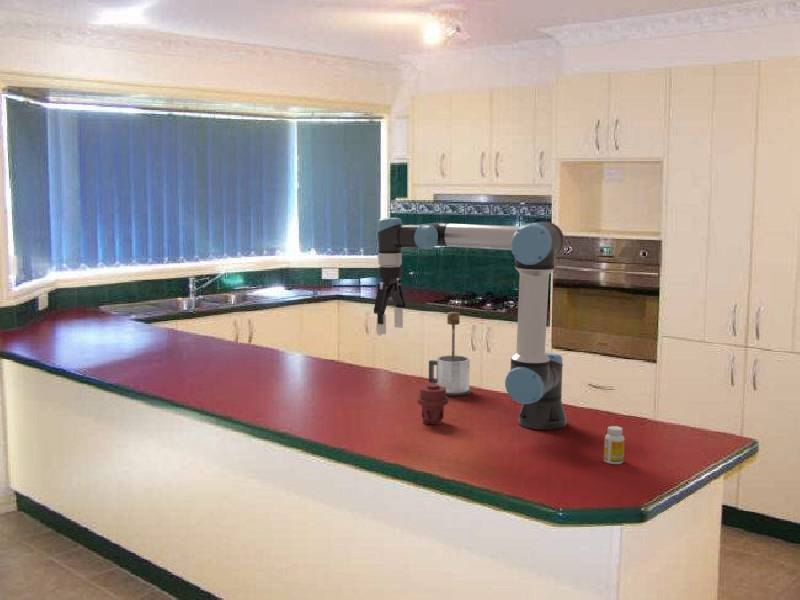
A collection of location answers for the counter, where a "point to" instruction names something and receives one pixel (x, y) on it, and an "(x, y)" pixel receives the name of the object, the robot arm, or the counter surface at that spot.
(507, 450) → the counter surface
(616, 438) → the supplement bottle
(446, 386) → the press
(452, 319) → the plunger
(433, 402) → the mechanical component
